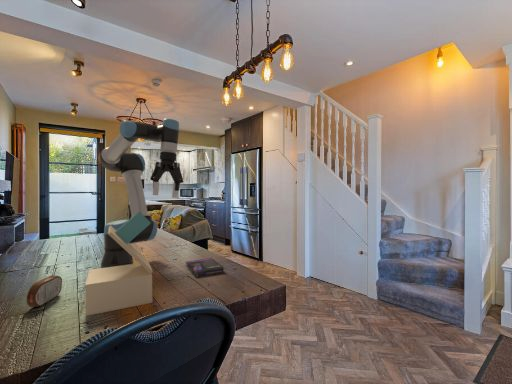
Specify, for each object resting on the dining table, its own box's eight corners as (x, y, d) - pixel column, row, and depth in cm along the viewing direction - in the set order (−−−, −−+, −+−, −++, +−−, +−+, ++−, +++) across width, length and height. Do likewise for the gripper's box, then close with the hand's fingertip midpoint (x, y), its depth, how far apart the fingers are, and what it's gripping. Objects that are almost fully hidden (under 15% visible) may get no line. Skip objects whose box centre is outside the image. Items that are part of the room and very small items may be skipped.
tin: (55, 293, 104) (55, 272, 104) (64, 293, 104) (63, 272, 104) (25, 311, 89) (25, 286, 89) (35, 311, 89) (35, 286, 89)
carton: (146, 286, 111) (146, 262, 111) (152, 302, 95) (151, 274, 95) (89, 295, 101) (89, 269, 101) (85, 315, 85) (85, 284, 85)
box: (185, 268, 138) (194, 278, 121) (185, 261, 138) (194, 271, 121) (212, 264, 144) (224, 273, 127) (211, 257, 144) (223, 266, 127)
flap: (145, 261, 110) (167, 240, 115) (150, 273, 94) (176, 248, 99) (108, 227, 104) (134, 206, 108) (108, 234, 88) (137, 209, 92)
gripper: (193, 153, 125) (189, 198, 125) (157, 153, 137) (154, 194, 138) (181, 150, 118) (177, 198, 118) (145, 150, 131) (141, 193, 131)
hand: (164, 196), depth 128 cm, fingers open, 13 cm apart
